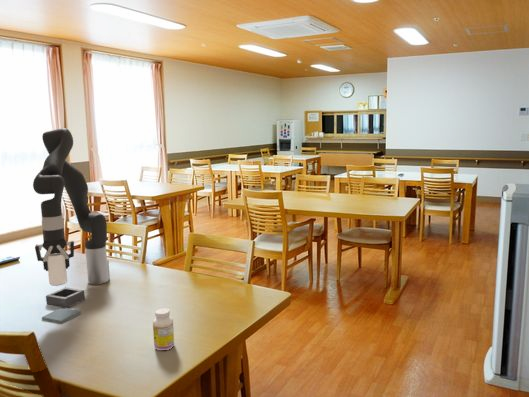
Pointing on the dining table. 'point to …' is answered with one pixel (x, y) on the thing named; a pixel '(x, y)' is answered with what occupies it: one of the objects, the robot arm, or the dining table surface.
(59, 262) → the can
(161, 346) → the supplement bottle
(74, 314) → the mat
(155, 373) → the dining table surface
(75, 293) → the sleeve
